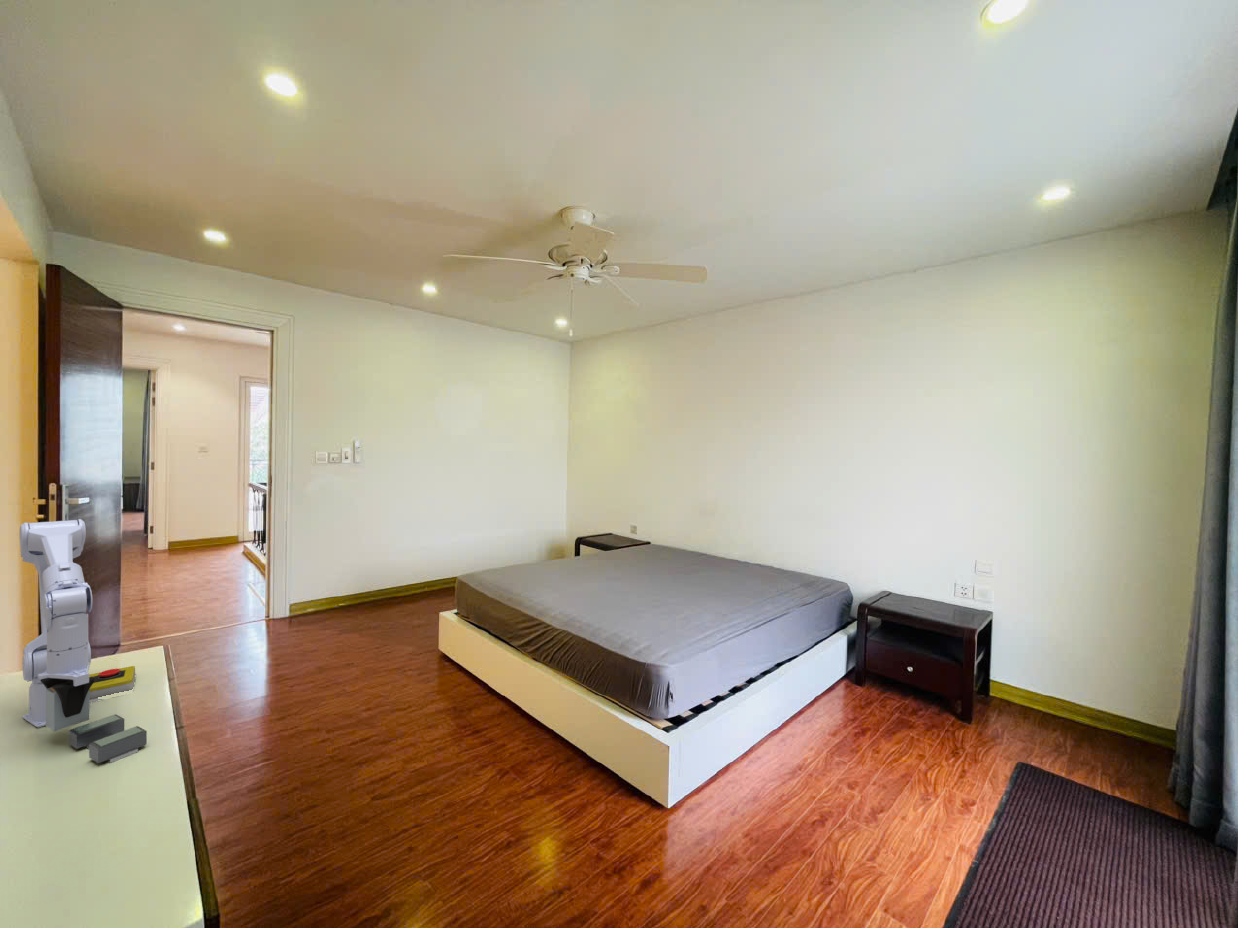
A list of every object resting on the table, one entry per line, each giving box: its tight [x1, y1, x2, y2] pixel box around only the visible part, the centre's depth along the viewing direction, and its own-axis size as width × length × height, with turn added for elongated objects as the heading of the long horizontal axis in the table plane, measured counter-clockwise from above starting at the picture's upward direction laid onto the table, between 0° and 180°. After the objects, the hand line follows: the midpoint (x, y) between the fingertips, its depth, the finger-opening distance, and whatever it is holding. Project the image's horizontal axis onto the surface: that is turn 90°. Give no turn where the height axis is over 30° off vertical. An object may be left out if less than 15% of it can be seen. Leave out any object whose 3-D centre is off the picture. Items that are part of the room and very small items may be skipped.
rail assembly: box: [68, 713, 148, 764], centre depth 99 cm, size 15×7×4 cm, turn 64°
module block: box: [45, 687, 90, 732], centre depth 102 cm, size 4×5×8 cm
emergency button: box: [89, 665, 137, 704], centre depth 124 cm, size 9×4×15 cm
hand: (67, 712), depth 102 cm, fingers closed on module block, 4 cm apart
